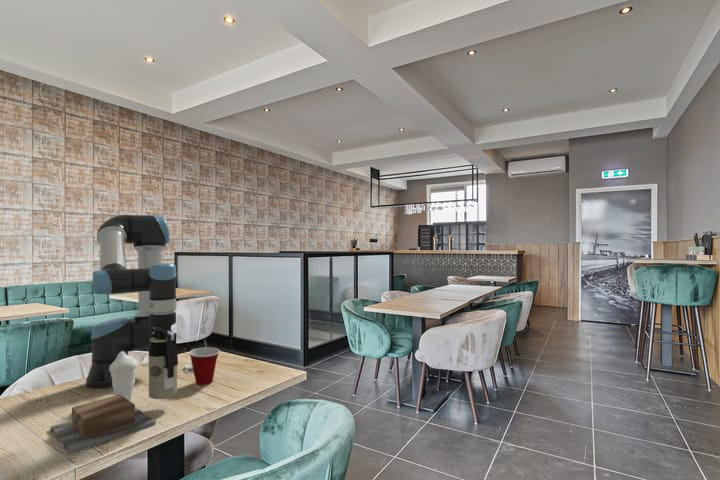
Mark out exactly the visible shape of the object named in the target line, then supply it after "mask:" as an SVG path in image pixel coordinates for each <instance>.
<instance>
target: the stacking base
mask: <svg viewBox="0 0 720 480" xmlns="http://www.w3.org/2000/svg"><path fill="white" fill-rule="evenodd" d="M155 425H157V423H156V420H155V419H153V418H152V417H150V416H149V415H148V414H146V413H145V412H143V411H141V410H140V409H139V408H137V407H136V404H135V403H133V402H132V401H130V399H129V400H127V399H126V398H124V397H123V396H121V395H120V394H119V395H116V396H115V395H113V396H109V397H105V398H101V399H97V400H95V401H91V402H87V403H84V404H80V405H76V406H73V407H71V420H68V421H64V422H61V423H57V424H54V425H52V426H50V427H49V428H50V429H49V430H50V432H51V433H52V432H53V433H54V434H53V433H52V434H53V435H54V437H55V438H56V437H57V438H58V439H59V440H58V439H57V438H56V439H57V440H58V441H59V443H60V442H61V443H62V444H63V445H62V444H61V443H60V444H61V445H62V446H63V448H64V447H65V448H66V449H67V450H66V449H65V448H64V449H65V450H66V451H67V453H68V452H69V453H70V454H69V453H68V454H69V455H72V454H71V453H73V454H75V453H74V452H76V453H78V452H77V451H79V452H81V451H84V450H87V449H89V448H92V447H97V446H99V445H100V444H103V443H107V442H110V441H112V440H115V439H118V438H121V437H123V436H126V435H129V434H132V433H136V432H138V431H141V430H144V429H147V428H149V427H152V426H155ZM86 448H87V449H86ZM83 449H84V450H83ZM80 450H81V451H80Z"/></svg>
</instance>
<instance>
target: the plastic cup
mask: <svg viewBox="0 0 720 480" xmlns="http://www.w3.org/2000/svg"><path fill="white" fill-rule="evenodd" d="M220 351H221V350H220V349H218V348H215V347H198V348H194V349H191V350H190V351H189V356H190V361H192V365H193V370H192V372H194V373H193V376H194V380H195V384H196V385H197V386H207V385H210V384H211V383H213V381H214V375H215V371H216V364H217V359H218V356H219V354H220Z"/></svg>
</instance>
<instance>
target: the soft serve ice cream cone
mask: <svg viewBox="0 0 720 480" xmlns="http://www.w3.org/2000/svg"><path fill="white" fill-rule="evenodd" d="M138 366H139V365H138V360H136V358H135V357H133V356H131V355H129V354H128V355H126V354H125V353H124V352H123V351H122V352H120V353H119V354H118V356H117V357H116V360H115V361H114V362H113V363H112V364H111V365H110V366H109V367H110V369H109V371H110V372H111V376H112V386H113V387H112V388H113V391H114V392H113V393H114V396H116V395H119V394H120V395H121V396H123V397H124V398H126V399H127V400H129V401H130V400H131V398H132V397H133V390H134V386H135V383H136V373H137V368H138Z"/></svg>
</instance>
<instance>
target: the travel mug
mask: <svg viewBox="0 0 720 480" xmlns="http://www.w3.org/2000/svg"><path fill="white" fill-rule="evenodd" d="M150 342H151V346H150V348H149V349H148V397H149V398H150V399H153V400H162V399H167V398H170V397H172V396H174V395H175V394H177V392H178V365H176V366H174V387H171V388H168V389H164V368H163V367H164V366H166V365H165V359H164V347H163V346H162V344H164V345H167V339H166V340H159V338H154V337H152V338H151V339H150Z"/></svg>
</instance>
